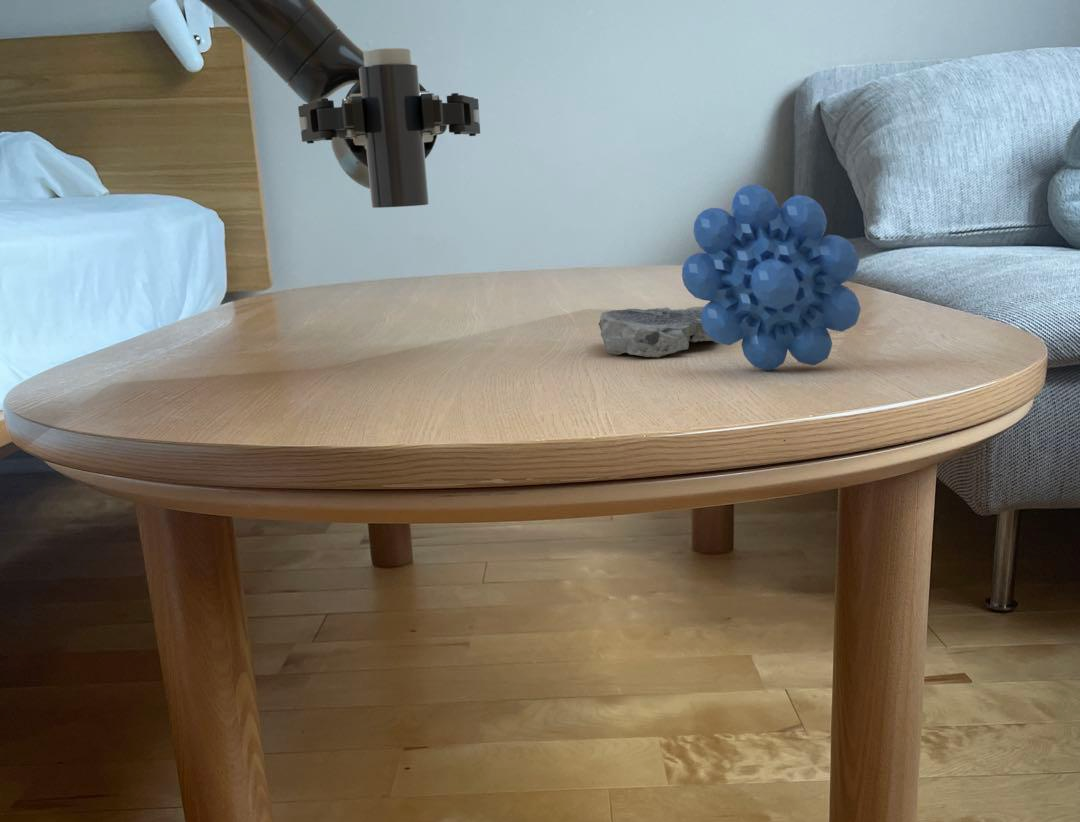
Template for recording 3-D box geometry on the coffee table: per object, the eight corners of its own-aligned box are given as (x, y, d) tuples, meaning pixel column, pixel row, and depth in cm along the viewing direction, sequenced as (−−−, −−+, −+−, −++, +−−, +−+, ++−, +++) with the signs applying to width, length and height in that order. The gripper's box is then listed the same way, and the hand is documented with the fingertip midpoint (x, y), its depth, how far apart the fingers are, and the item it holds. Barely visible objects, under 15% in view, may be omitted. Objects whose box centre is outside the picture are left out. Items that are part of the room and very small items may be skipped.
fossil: (684, 321, 74) (569, 289, 79) (671, 377, 76) (559, 342, 81) (749, 317, 84) (642, 288, 88) (736, 366, 85) (632, 336, 90)
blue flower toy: (681, 384, 68) (680, 189, 64) (682, 365, 74) (681, 187, 70) (867, 380, 66) (878, 179, 62) (852, 361, 72) (861, 178, 68)
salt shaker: (372, 208, 72) (356, 48, 68) (371, 207, 75) (357, 55, 72) (430, 205, 72) (417, 46, 69) (427, 203, 76) (415, 53, 73)
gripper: (294, 78, 83) (276, 53, 67) (472, 72, 85) (496, 46, 69) (305, 178, 86) (291, 177, 70) (478, 169, 87) (503, 167, 71)
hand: (393, 112), depth 69 cm, fingers closed on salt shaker, 4 cm apart
